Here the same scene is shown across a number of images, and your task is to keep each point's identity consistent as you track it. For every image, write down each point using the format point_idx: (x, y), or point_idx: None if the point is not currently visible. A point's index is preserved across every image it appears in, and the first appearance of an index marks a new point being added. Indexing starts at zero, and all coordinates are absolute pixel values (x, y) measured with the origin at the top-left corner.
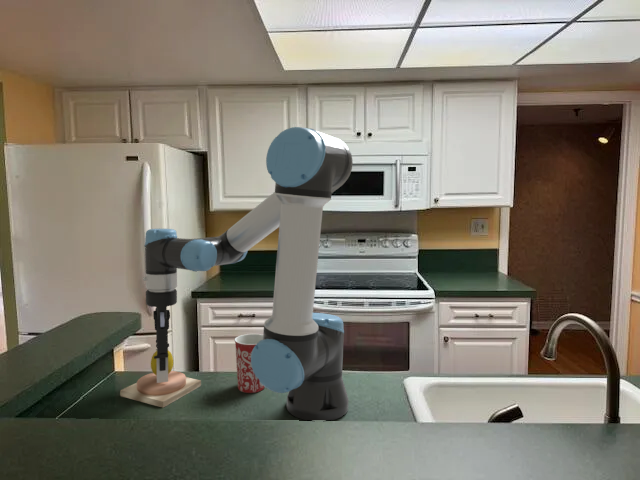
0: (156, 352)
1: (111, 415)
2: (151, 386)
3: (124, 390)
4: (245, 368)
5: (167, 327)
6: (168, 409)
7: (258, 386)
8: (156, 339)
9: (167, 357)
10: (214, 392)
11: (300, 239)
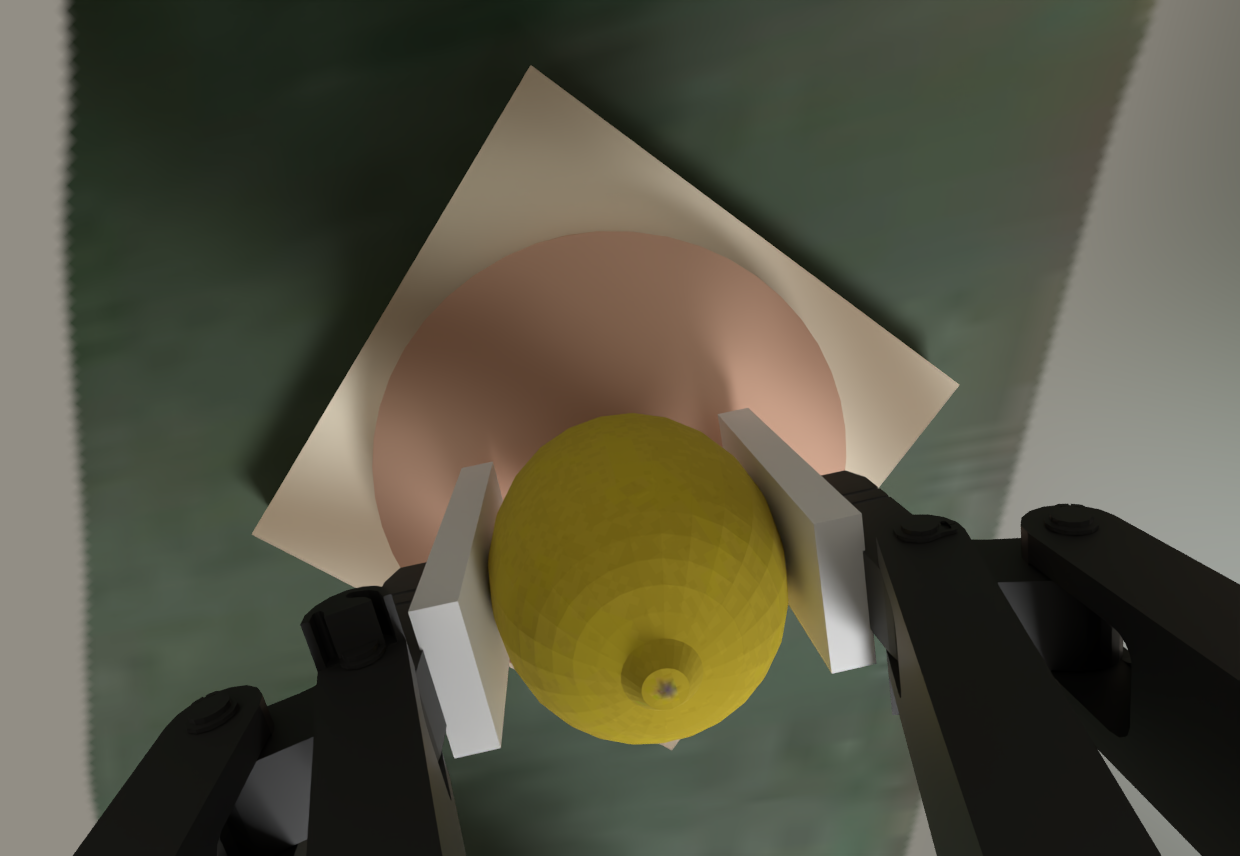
0: (602, 585)
1: (114, 98)
2: (448, 411)
3: (523, 114)
4: None
5: None
6: (245, 556)
7: None
8: (1060, 559)
9: (455, 743)
10: (533, 817)
11: None
